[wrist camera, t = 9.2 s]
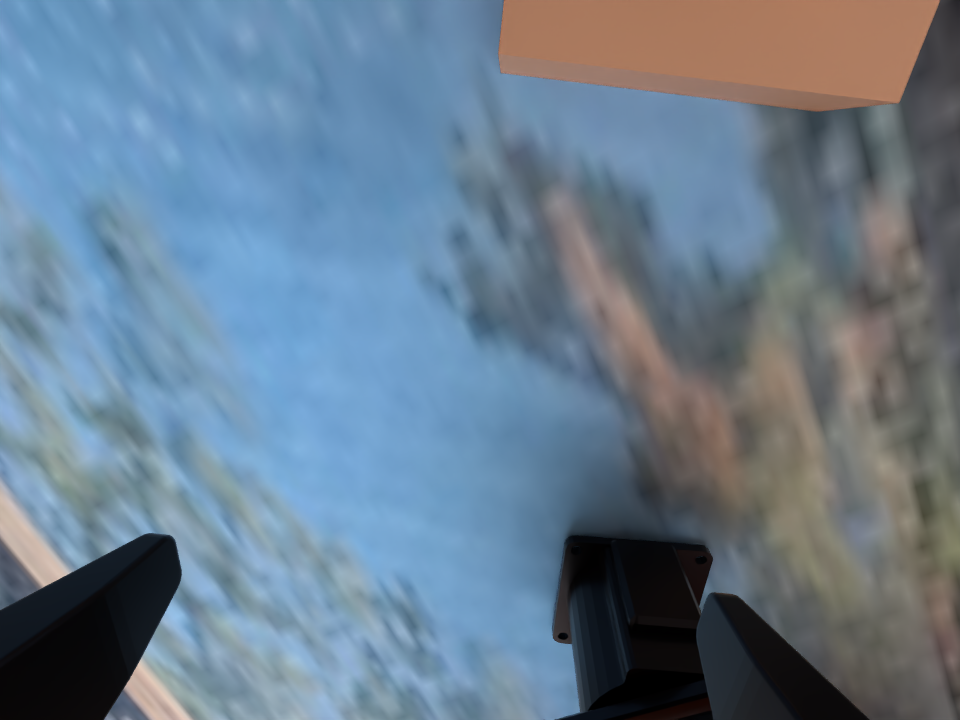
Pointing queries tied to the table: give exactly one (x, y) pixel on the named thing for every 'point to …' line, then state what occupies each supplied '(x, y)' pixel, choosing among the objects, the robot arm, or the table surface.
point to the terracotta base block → (723, 47)
